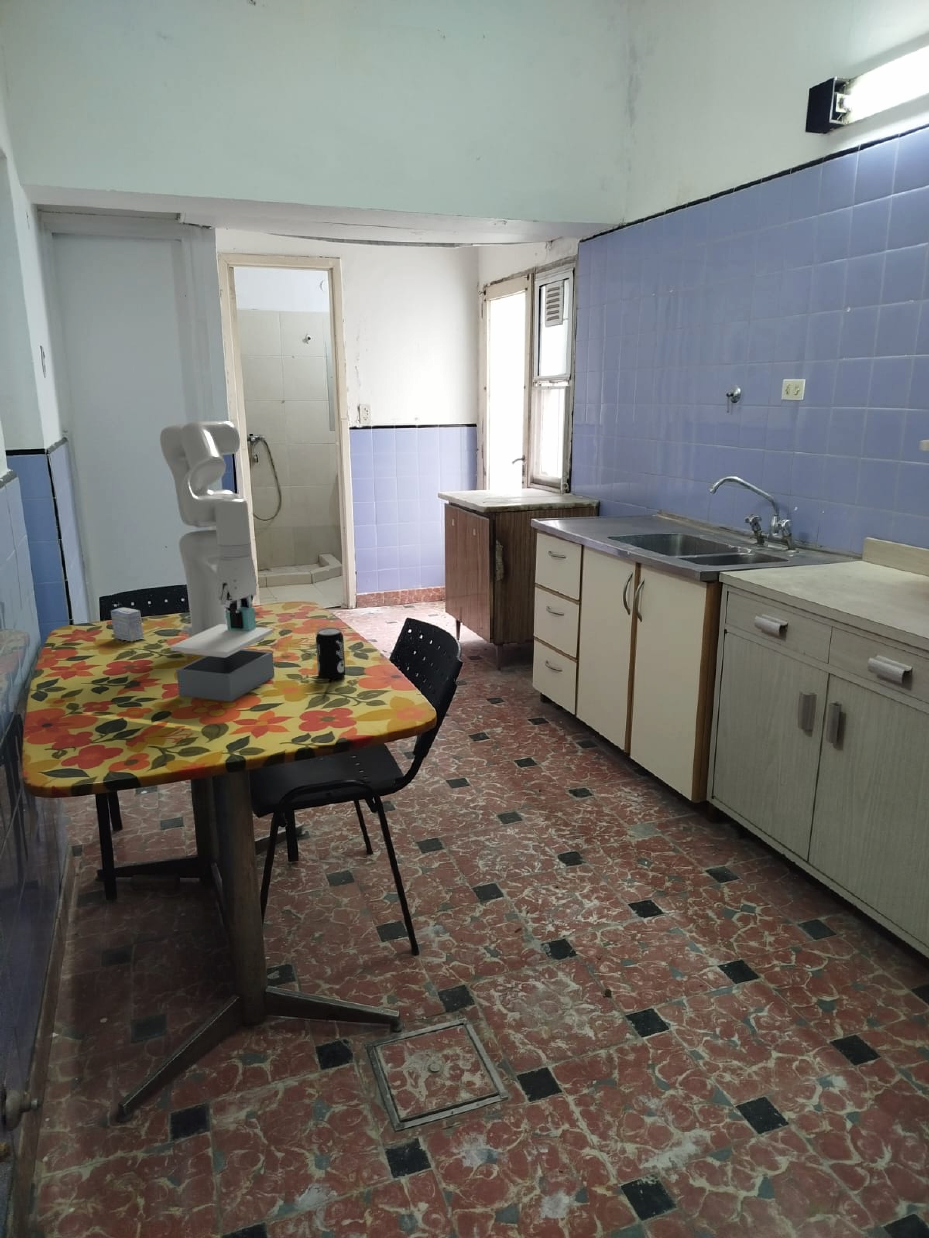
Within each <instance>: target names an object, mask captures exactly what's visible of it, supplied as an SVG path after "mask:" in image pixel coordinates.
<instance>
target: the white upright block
mask: <svg viewBox="0 0 929 1238" xmlns="http://www.w3.org/2000/svg"><path fill="white" fill-rule="evenodd" d="M110 617H111V624H112V631H113V638H118V639H121V640H120V641H123V640H127V641H133V640H138V639H141V638H145V635H144V631H143V629H144V628H143V623H142V622H143V621H142V617H141V610H139V609H135V608H130V607H118V608H116V609H113V610H110ZM118 639H117V640H118ZM127 641H126V642H127Z"/></svg>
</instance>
